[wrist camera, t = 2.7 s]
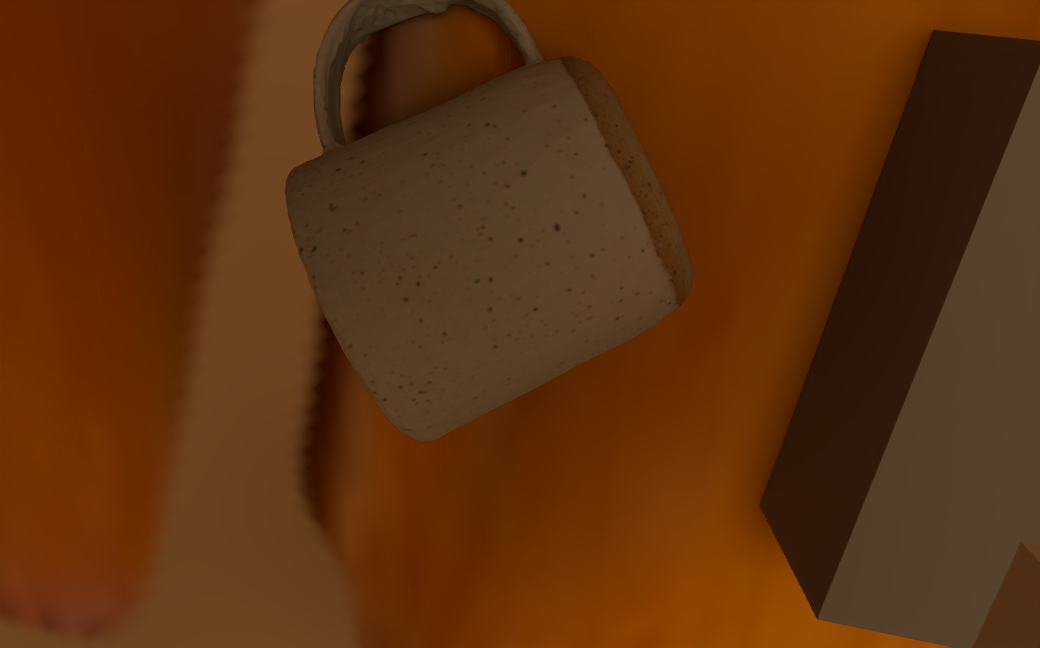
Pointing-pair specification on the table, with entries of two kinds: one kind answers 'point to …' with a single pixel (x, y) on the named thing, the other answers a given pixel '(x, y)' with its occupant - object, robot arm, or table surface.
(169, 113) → the table surface
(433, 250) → the ceramic mug
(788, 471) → the slate block
